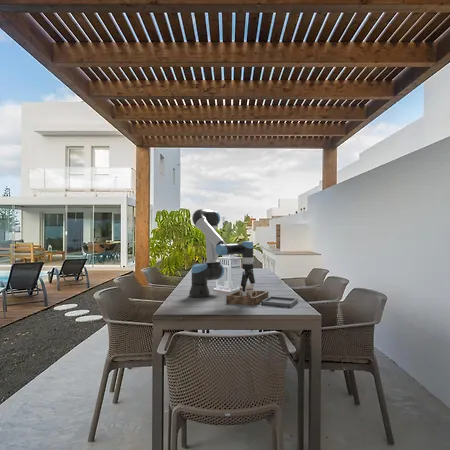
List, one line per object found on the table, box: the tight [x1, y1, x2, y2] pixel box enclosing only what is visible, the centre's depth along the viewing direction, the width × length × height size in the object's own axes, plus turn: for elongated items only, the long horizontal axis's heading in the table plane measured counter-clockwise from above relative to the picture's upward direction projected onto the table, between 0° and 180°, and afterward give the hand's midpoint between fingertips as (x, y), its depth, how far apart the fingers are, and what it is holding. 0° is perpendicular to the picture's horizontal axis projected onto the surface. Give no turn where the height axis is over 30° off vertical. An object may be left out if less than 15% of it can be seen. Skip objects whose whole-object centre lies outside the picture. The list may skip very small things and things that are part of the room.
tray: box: [260, 295, 299, 309], centre depth 226 cm, size 19×19×2 cm
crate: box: [225, 289, 269, 306], centre depth 235 cm, size 20×26×5 cm
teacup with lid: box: [239, 283, 257, 297], centre depth 235 cm, size 12×9×12 cm
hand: (248, 294), depth 235 cm, fingers open, 13 cm apart
